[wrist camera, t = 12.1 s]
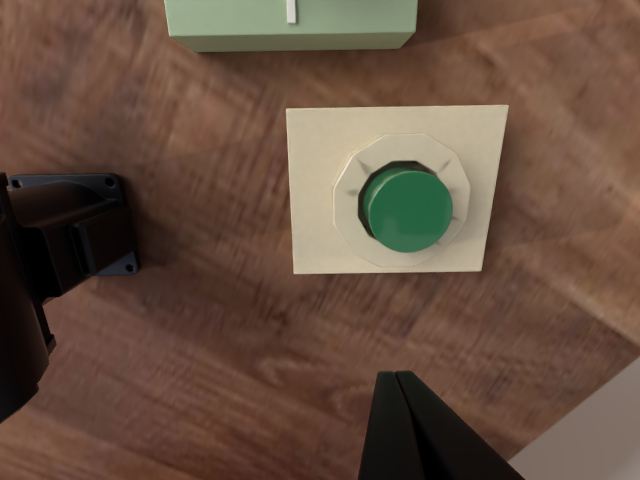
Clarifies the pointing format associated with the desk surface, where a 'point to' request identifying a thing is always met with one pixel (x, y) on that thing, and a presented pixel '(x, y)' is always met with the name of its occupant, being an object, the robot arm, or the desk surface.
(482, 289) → the desk surface
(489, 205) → the button base
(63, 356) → the desk surface
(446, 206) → the green button cap
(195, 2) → the console
